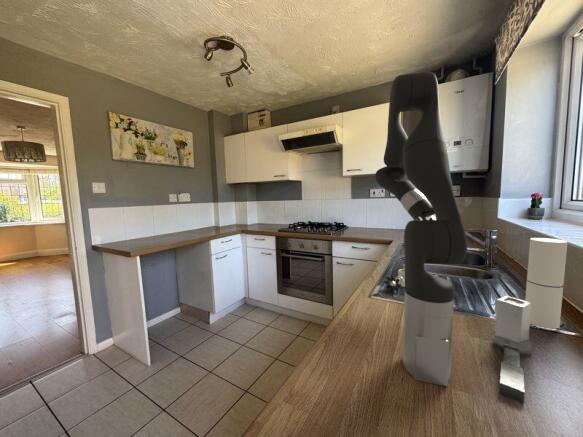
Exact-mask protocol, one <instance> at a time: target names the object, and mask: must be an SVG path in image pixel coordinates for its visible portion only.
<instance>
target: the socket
mask: <svg viewBox="0 0 583 437" xmlns="http://www.w3.org/2000/svg"><path fill="white" fill-rule="evenodd" d="M496 302H497V303H496V313H495V330H494V331H495V336H497V337H500V338H502V339H505V340H507V341H509V342H512V343H514V344H517V345H519V346H520V345H522V344H523V343H525V342H526V341H527V340H528V339H529V340H530V338H529V337H530V326H531V325H530V314H531V302H527V301H525V299H520V298H517V297H512V296H509V295H505V296H502V297H500V298H497V300H496Z"/></svg>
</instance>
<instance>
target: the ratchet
mask: <svg viewBox="0 0 583 437" xmlns="http://www.w3.org/2000/svg"><path fill="white" fill-rule="evenodd" d="M492 334H493V337H492V344H493V345H494V347H497V349H499V350H500V351H503V361H502V360H500V373H499V374H500V375H499V376H500V377H499V389H498V391H499V394H501V395H502V396H505V397H507V398H510V399H513V400H514V401H517V402H520V403H523V404H525V393H526V392H525V378H524V377H525V376H524V368H523V367H521V359H520V357H524V358H525V357H526V358H527V357H530V356H531V355H532V347H533V343H532V341H531V340H530V338H529V339H528V340H527V341H526V342H525V343H523V344H522V345H520V346H519V345H517V344H514V343H512V342H509V341H507V340H505V339H502V338H500V337H497V336H495V330H494V331H493V333H492Z"/></svg>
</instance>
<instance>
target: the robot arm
mask: <svg viewBox="0 0 583 437" xmlns="http://www.w3.org/2000/svg"><path fill="white" fill-rule="evenodd" d="M391 85H392V86H391V88H390V94H389V102H388V103H389V106H388V115H387V116H388V117H387V118H388V119H387V136H386V145H385V150H384V155H383V164H384V165H385V166H383V167H381V168H379V169H378V170H377V171H376V172H375V173H374V174H375V175H374V176H375V181H376V183H377V184H378V185H379V186H380V187H382V188H383V189H384V190H386V191H388V192H389V193H390V194H392V195H393V196H394V197H395V198H396V199H397V200H398V201H399V202H400V205H401V206H402V207H403V208H404V210H405V211H406V212H407V214H409V216H410V217H411V218H412V219H413V220H410V221H408V222H407V223H406V224H405V228H404V234H403V249H404V250H403V251H404V270H405V287H404V301H403V302H404V305H403V335H402V336H403V337H402V339H403V340H402V342H403V343H402V363H403V364H402V365H403V367H404V369H405V370H406V371H407V372H408V373H409V374H410V375H411V376H412V378H413V380H414V381H419V382H422V383H428V384H434V385H438V386H444V387H448V386H449V381H450V379H451V372H452V371H451V370H452V348H453V347H452V346H453V328H454V327H453V325H454V324H453V323H454V322H453V321H454V307H455V306H454V304H455V303H454V302H455V287H454V285H453V284H452V282H450V281H449V280H448V279H445V278H444V277H440V276H438V275H436V274H432V273H430V272H428V271H426V269H425V265H427V264H429V265H431V264H432V265H448V266H449V265H461V264H462V263H464V261H465V259H466V257H467V252H468V239H467V234H466V230H465V225H464V222H463V219H462V215H461V212H460V208H459V206H458V202H457V199H456V194H455V192H454V186H453V180H452V176H451V169H450V161H449V154H448V148H447V144H446V140H445V136H444V132H443V124H442V120H441V119H442V118H441V111H440V110H441V108H440V96H439V95H440V94H439V93H440V92H439V83H438V79H437V76H436V74H435V73H433V72H430V71H424V72H414V73H405V74H400V75H399V74H398V75H397V76H396V77H395V78H394V79H393V81H392V84H391ZM418 111H419V112H421V117H420V120H419V122H418V123H417V125H416V126H415V127H414V129H413V130H412V131H411V132H410V134H409V136H408V135H407V133H406V131H405V129H404V127H403V125H402V122H401V119H400V118H401V113H402V112H403V113H405V112H418ZM405 176H406V178H408V179H404V178H405Z"/></svg>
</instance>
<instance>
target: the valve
mask: <svg viewBox="0 0 583 437" xmlns="http://www.w3.org/2000/svg"><path fill="white" fill-rule="evenodd" d="M397 274H398V275H397V276H396V277H395V275H391V277H390V276H386V278H385V279H386V280H385V281H384V284H385V285H386V287H385V288H386V289H387V290H389V289H390V292H391V291H393V292H392V293H394V292H395V291H396V292H400V288H401V287H402V288H405V268H404V269H403V268H400V269H398V271H397Z"/></svg>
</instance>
